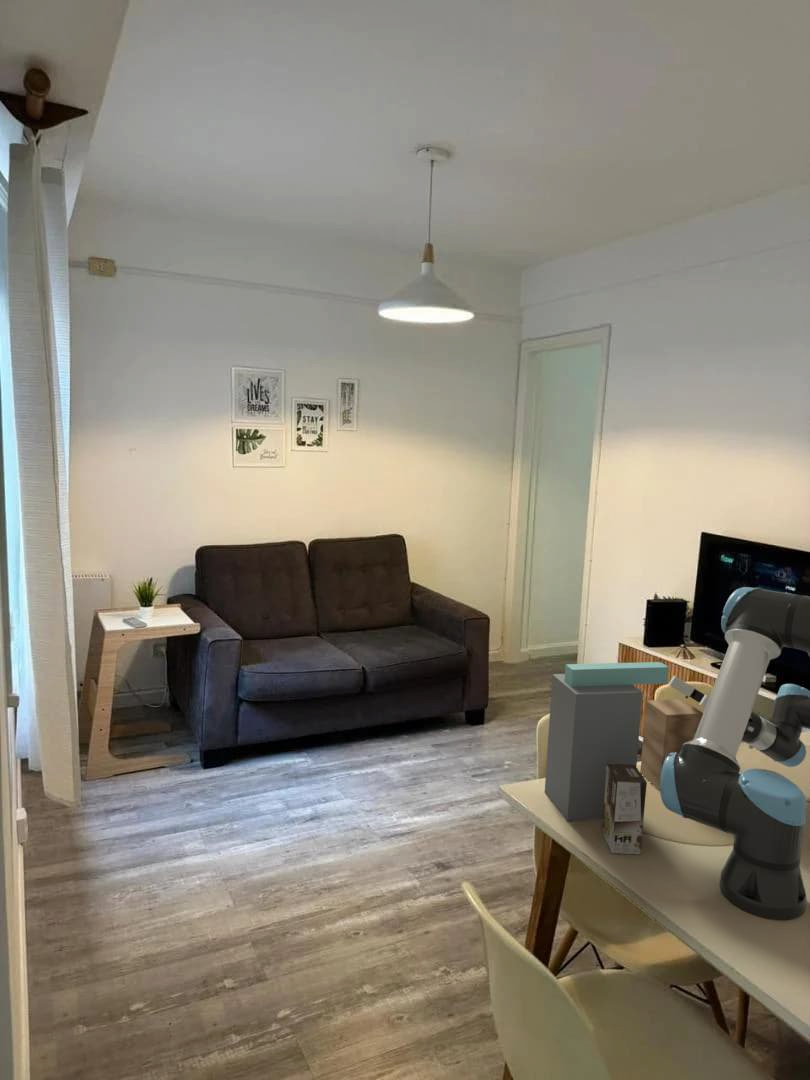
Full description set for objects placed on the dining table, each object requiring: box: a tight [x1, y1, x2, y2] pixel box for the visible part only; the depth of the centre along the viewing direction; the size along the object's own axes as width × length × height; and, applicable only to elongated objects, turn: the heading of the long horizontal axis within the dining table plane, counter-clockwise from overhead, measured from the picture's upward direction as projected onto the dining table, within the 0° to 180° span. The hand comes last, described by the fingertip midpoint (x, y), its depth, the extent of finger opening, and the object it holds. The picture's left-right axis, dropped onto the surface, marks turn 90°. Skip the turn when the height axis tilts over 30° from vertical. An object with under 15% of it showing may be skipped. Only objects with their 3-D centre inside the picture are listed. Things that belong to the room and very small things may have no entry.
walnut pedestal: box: [639, 698, 704, 792], centre depth 193 cm, size 10×10×20 cm
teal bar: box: [564, 661, 670, 687], centre depth 178 cm, size 24×4×4 cm, turn 101°
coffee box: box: [601, 764, 648, 856], centre depth 164 cm, size 9×6×16 cm
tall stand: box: [544, 673, 644, 822], centre depth 179 cm, size 16×14×30 cm
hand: (686, 689), depth 183 cm, fingers open, 13 cm apart
